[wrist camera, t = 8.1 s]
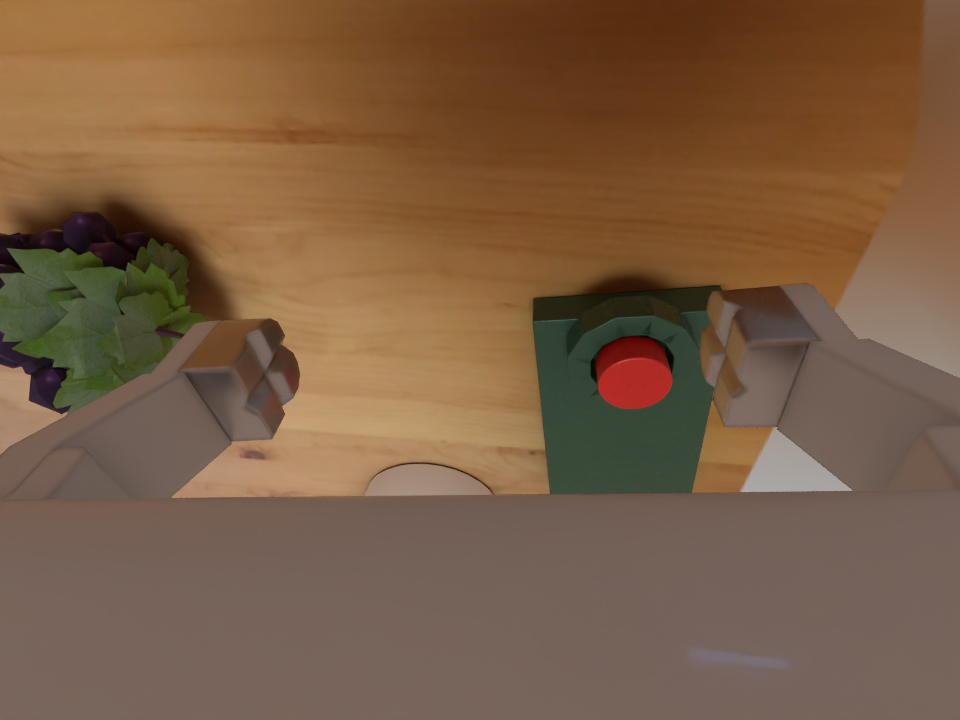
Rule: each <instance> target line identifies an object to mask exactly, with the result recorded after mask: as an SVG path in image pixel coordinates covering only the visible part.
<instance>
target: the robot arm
mask: <svg viewBox="0 0 960 720" xmlns="http://www.w3.org/2000/svg"><path fill="white" fill-rule="evenodd" d="M706 313H707V315H708V317H709V319H710V321H711V323H710V324H709V325H708V326H707V327H706V328H705V329H704V330H703V331H702V334H701V340H700V346H699V354H700V365H701V370H702V373H703V376H704V379H705V381H706V382H707V383H708V384H710V385H711V386H713V387H714V388H715V391H714V396H713V401H714V404H715V406H716V409H717V411H718V414H719V416H720V418H721V421H722V423H723V426H724V427H778V428H777V430H779V431H780V432H781V433H782V434H784V435H785V436H786V437H787V438H789V439H790V440H791V441H792V442H794V443H795V444H796V445H797V446H799V447H800V448H801V449H802V450H803V451H805V452H806V453H807V454H808V455H810V456H811V457H812V458H813V459H815V460H816V461H817V462H818V463H820V464H821V465H822V466H823V467H825V468H826V469H827V470H828V471H830V472H831V473H832V474H833V475H834V476H836V477H837V478H838V479H839V480H841V481H842V482H843V483H844V484H846V485H847V486H848V487H849V488H851V489H852V490H853V491H820V492H819V491H816V492H815V491H811V492H728V493H624V494H506V495H412V496H319V497H220V498H171V497H172V496H173V495H174V494H175V493H176V492H178V491H179V490H180V489H181V488H182V487H183V486H184V485H185V484H187V483H188V482H189V481H190V480H191V479H192V478H193V477H195V476H196V475H197V474H198V473H199V472H200V471H201V470H202V469H204V468H205V467H206V466H207V465H208V464H209V463H210V462H211V461H213V460H214V459H215V458H216V457H217V456H218V455H219V454H221V453H222V452H223V451H224V450H225V449H226V448H227V447H228V446H230V445H231V442H232V441H250V440H268V439H272V438H273V436H274V434H275V433H276V431H277V429H278V427H279V425H280V423H281V421H282V419H283V417H284V415H285V413H284V410H283V408H282V406H283V405H284V404H286V403H287V402H288V401H290V400H291V399H293V398H294V396H295V393H296V391H297V389H298V387H299V377H300V372H299V367H298V362H297V360H296V358H295V356H294V354H293V353H292V352H291V351H290V350H288V349H287V348H286V347H284V346H283V345H282V343H283V340H284V337H285V335H284V333H283V331H282V329H281V327H280V325H279V323H278V322H277V321H275V320H273V319H271V318H267V319H243V320H225V321H222V320H218V321H205V322H200V323H196V324H194V325H193V326H192V327H191V328H190V329H189V331H188V332H187V333H186V334H185V335H184V336H183V337H182V339H181V340H180V341H179V342H178V343H177V344H176V345H175V346H174V348H173V349H172V350H171V351H170V352H169V353H168V354H167V356H166V357H165V358H164V359H163V360H162V361H161V362H160V363H159V365H158V366H157V367H156V368H155V369H154V370H153V371H152V373H151V374H142V375H141V376H139V377H137V378H135V379H133V380H131V381H130V382H128V383H126V384H124V385H122V386H120V387H118V388H117V389H115V390H113V391H111V392H109V393H107V394H106V395H104V396H102V397H100V398H98V399H96V400H95V401H93V402H91V403H89V404H87V405H85V406H84V407H82V408H80V409H78V410H76V411H74V412H72V413H71V414H69V415H67V416H65V417H63V418H61V419H60V420H58V421H56V422H54V423H52V424H50V425H49V426H47V427H45V428H43V429H41V430H39V431H38V432H36V433H34V434H32V435H30V436H28V437H26V438H25V439H23V440H21V441H19V442H17V443H15V444H14V445H12V446H10V447H8V448H7V449H6V450H5V451H4V452H3V453H2V454H1V455H0V720H960V378H958V377H956V376H953V375H951V374H949V373H946V372H944V371H942V370H939V369H937V368H935V367H933V366H930V365H928V364H926V363H923V362H921V361H919V360H916V359H914V358H912V357H909V356H907V355H905V354H903V353H900V352H898V351H896V350H893V349H891V348H889V347H886V346H884V345H882V344H879V343H877V342H875V341H873V340H870V339H858V338H857V337H856V336H855V335H854V334H853V332H852V331H851V330H850V329H849V328H848V327H847V325H846V324H845V323H844V322H843V320H842V319H841V318H840V317H839V316H838V314H837V313H836V312H835V311H834V310H833V308H832V307H831V306H830V305H829V304H828V302H827V301H826V300H825V299H824V298H823V297H822V295H821V294H820V293H819V292H818V291H817V289H816V288H815V287H814V286H813V285H811V284H808V283H799V284H789V285H778V286H772V287H759V288H747V289H735V290H723V291H712V293H711V295H710V297H709V299H708V304H707V309H706Z"/></svg>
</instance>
